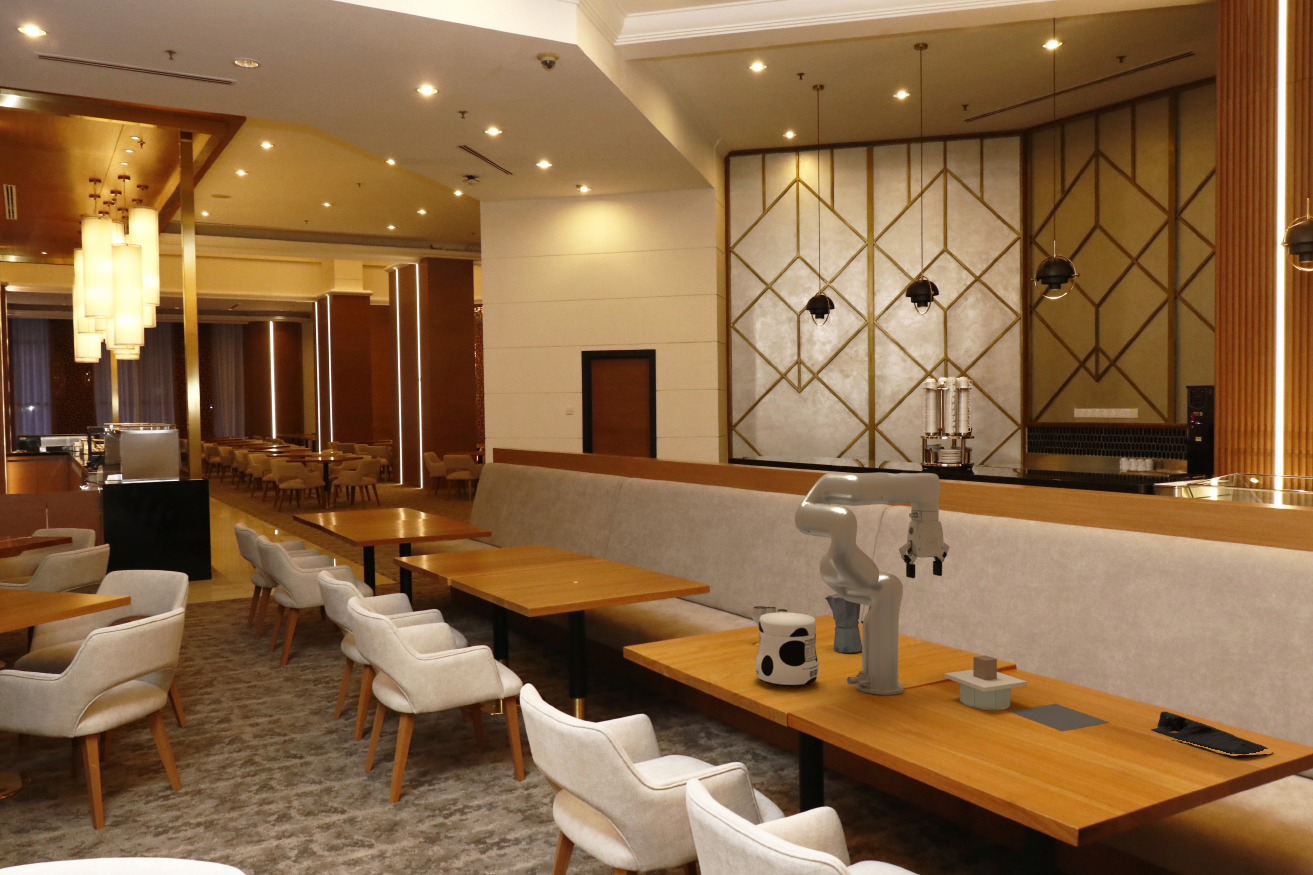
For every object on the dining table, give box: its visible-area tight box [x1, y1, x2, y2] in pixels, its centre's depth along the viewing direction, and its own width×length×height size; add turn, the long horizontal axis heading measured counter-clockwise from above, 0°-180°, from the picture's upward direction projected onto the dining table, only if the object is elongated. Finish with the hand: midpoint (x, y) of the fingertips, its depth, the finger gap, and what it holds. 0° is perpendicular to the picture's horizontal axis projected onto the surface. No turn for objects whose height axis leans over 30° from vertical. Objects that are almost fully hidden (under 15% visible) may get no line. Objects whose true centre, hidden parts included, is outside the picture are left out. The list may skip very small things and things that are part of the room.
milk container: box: [754, 612, 820, 688], centre depth 254 cm, size 17×17×18 cm
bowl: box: [959, 683, 1012, 711], centre depth 235 cm, size 12×12×6 cm
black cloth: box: [1150, 711, 1268, 754], centre depth 209 cm, size 15×22×5 cm
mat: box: [1008, 703, 1111, 732], centre depth 224 cm, size 16×16×1 cm
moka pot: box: [824, 593, 870, 654], centre depth 290 cm, size 10×15×20 cm, turn 82°
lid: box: [944, 655, 1028, 692], centre depth 235 cm, size 14×14×6 cm
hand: (924, 576), depth 262 cm, fingers open, 9 cm apart
